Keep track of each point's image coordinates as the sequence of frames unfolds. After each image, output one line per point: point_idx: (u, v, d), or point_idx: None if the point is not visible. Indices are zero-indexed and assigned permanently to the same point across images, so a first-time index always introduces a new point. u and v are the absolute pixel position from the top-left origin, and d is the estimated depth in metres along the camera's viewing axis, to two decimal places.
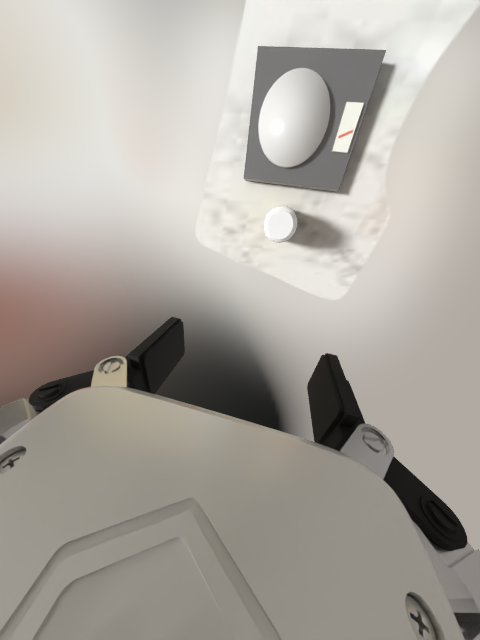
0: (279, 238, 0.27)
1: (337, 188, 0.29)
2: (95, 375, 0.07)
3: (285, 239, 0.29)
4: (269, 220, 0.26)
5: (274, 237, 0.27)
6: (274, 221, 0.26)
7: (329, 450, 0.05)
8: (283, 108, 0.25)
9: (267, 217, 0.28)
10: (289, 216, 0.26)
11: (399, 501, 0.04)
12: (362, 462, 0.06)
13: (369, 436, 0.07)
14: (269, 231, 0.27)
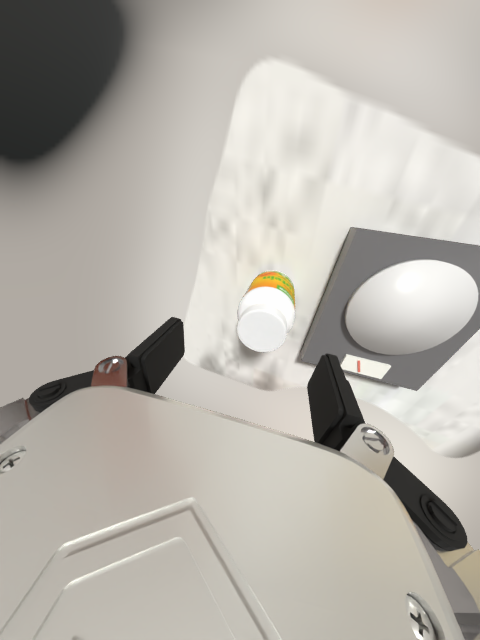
0: (239, 331, 0.14)
1: (303, 359, 0.23)
2: (95, 375, 0.07)
3: None
4: (270, 315, 0.13)
5: (240, 323, 0.14)
6: (268, 325, 0.13)
7: (329, 450, 0.05)
8: (431, 301, 0.16)
9: (278, 298, 0.15)
10: (274, 347, 0.14)
11: (399, 501, 0.04)
12: (362, 462, 0.06)
13: (369, 436, 0.07)
14: (251, 315, 0.13)
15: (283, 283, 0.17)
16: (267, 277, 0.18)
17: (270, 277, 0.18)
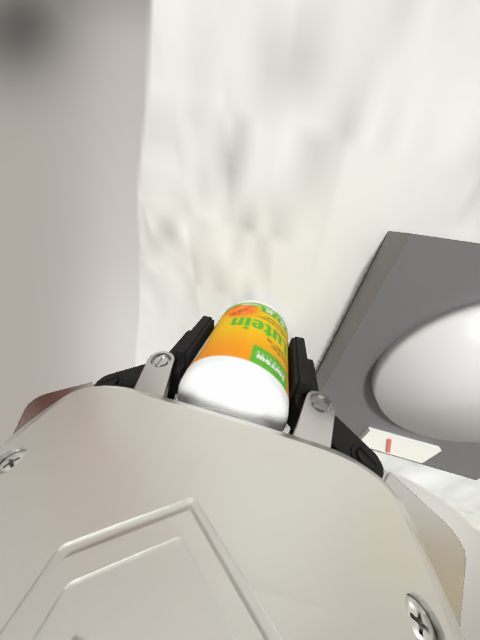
0: None
1: None
2: (149, 368, 0.08)
3: None
4: None
5: None
6: None
7: (329, 450, 0.05)
8: None
9: (252, 388, 0.07)
10: None
11: (399, 501, 0.04)
12: (305, 417, 0.07)
13: (316, 401, 0.08)
14: None
15: (266, 335, 0.09)
16: (238, 321, 0.10)
17: (244, 321, 0.10)
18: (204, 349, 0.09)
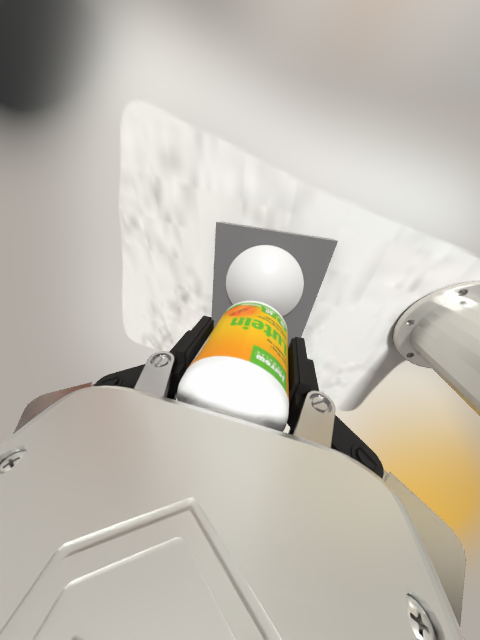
0: None
1: None
2: (149, 368, 0.08)
3: None
4: None
5: None
6: None
7: (329, 450, 0.05)
8: (275, 276, 0.22)
9: (252, 389, 0.07)
10: None
11: (399, 501, 0.04)
12: (304, 417, 0.07)
13: (316, 401, 0.08)
14: None
15: (266, 335, 0.09)
16: (238, 321, 0.10)
17: (244, 322, 0.10)
18: (204, 349, 0.09)
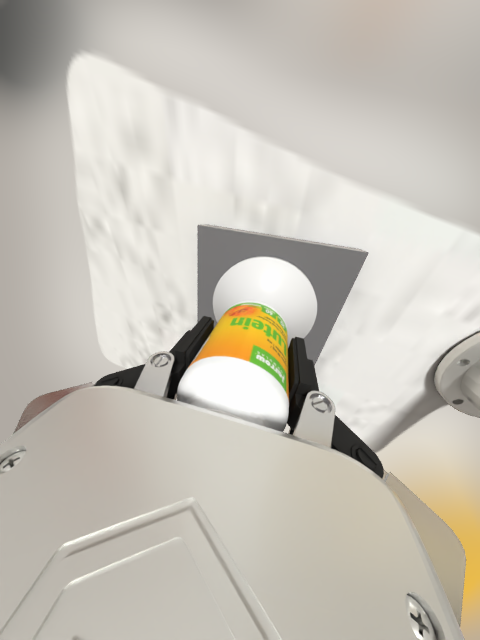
0: None
1: None
2: (150, 368, 0.08)
3: None
4: None
5: None
6: None
7: (329, 450, 0.05)
8: (278, 298, 0.16)
9: (252, 389, 0.07)
10: None
11: (399, 501, 0.04)
12: (305, 417, 0.07)
13: (316, 401, 0.08)
14: None
15: (266, 335, 0.09)
16: (238, 321, 0.10)
17: (244, 322, 0.10)
18: (204, 350, 0.09)
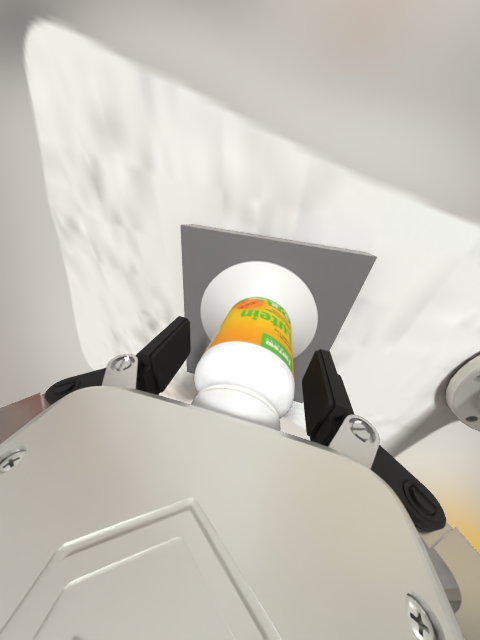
0: None
1: (188, 370, 0.21)
2: (108, 372, 0.08)
3: None
4: None
5: None
6: None
7: (329, 450, 0.05)
8: None
9: (263, 369, 0.08)
10: None
11: (399, 501, 0.04)
12: (349, 450, 0.06)
13: (357, 426, 0.07)
14: None
15: (273, 325, 0.10)
16: (247, 313, 0.11)
17: (252, 313, 0.11)
18: (218, 337, 0.10)
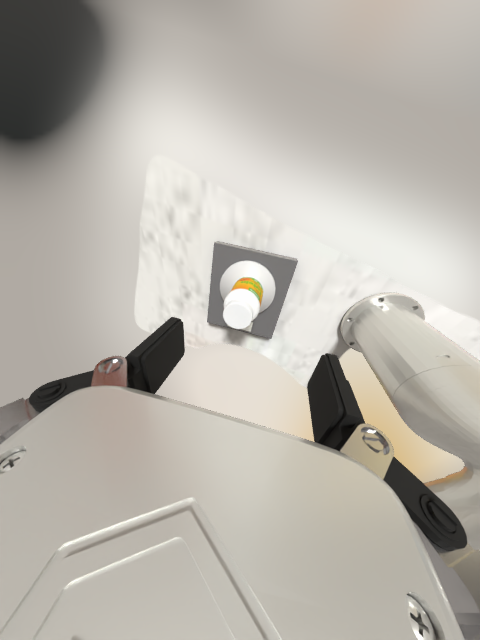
0: (224, 315, 0.24)
1: (208, 321, 0.38)
2: (95, 375, 0.07)
3: None
4: (242, 306, 0.22)
5: (225, 310, 0.23)
6: (241, 312, 0.23)
7: (329, 450, 0.05)
8: None
9: (248, 296, 0.24)
10: (245, 326, 0.24)
11: (399, 501, 0.04)
12: (362, 462, 0.06)
13: (369, 436, 0.07)
14: (231, 305, 0.23)
15: (254, 286, 0.27)
16: (244, 282, 0.27)
17: (246, 282, 0.27)
18: (232, 289, 0.26)
